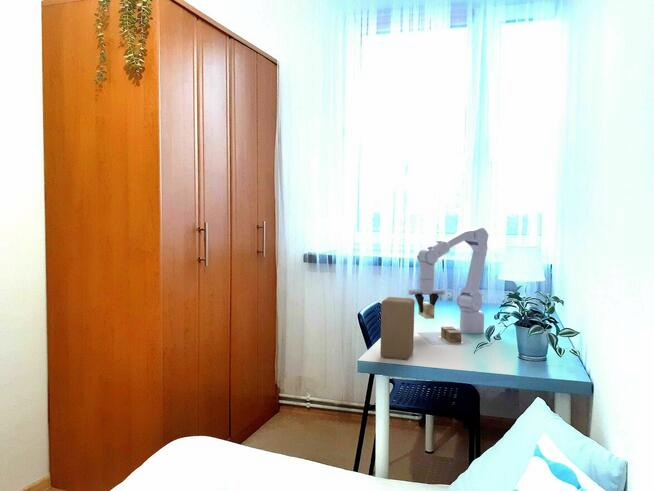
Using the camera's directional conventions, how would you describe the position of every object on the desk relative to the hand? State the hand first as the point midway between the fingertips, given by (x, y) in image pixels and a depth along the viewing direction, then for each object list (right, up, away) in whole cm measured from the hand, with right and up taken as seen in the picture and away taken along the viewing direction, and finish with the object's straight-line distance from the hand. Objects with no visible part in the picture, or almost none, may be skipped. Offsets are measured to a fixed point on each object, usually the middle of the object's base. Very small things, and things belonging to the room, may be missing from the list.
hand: (426, 312), depth 229 cm
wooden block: (-15, -12, -30) cm, 36 cm away
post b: (+9, -10, -9) cm, 16 cm away
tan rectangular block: (0, -2, 0) cm, 2 cm away
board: (+6, -10, -3) cm, 12 cm away
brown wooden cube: (+8, -10, -3) cm, 13 cm away
